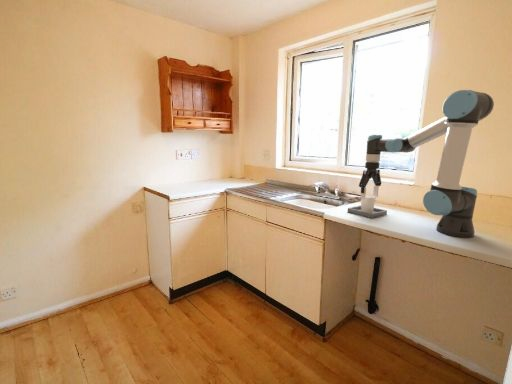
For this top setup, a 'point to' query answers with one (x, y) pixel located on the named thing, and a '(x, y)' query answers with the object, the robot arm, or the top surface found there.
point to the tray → (358, 211)
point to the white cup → (368, 204)
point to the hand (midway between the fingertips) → (369, 197)
